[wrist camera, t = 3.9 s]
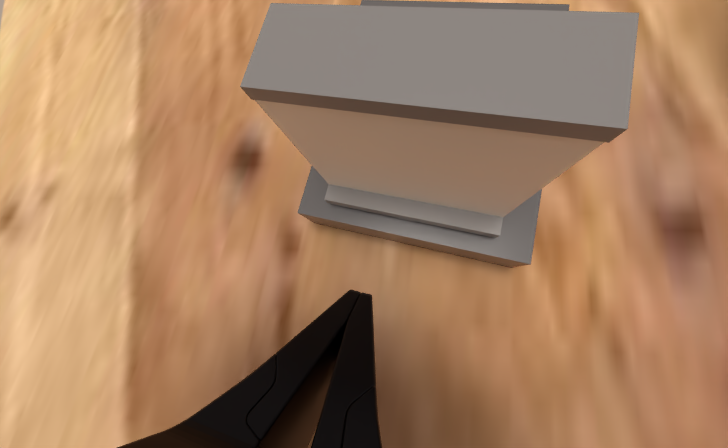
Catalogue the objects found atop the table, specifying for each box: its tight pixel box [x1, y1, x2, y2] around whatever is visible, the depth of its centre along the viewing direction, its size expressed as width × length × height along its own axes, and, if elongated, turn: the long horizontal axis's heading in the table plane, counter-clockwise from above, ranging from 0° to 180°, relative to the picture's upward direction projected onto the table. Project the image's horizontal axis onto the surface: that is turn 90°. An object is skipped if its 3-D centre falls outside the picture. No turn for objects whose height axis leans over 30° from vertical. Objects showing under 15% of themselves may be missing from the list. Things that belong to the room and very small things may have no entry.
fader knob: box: [240, 3, 639, 238], centre depth 12 cm, size 5×10×9 cm, turn 75°
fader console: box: [298, 0, 569, 267], centre depth 19 cm, size 17×14×3 cm
